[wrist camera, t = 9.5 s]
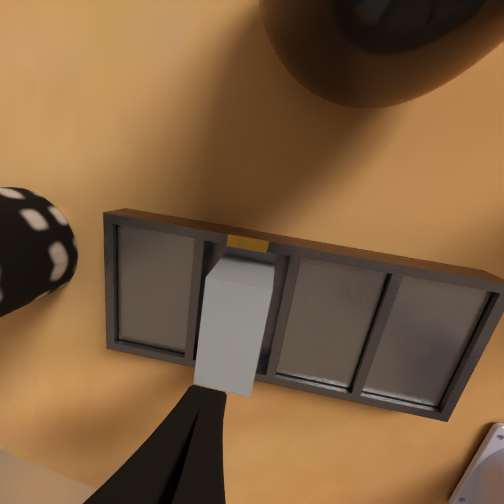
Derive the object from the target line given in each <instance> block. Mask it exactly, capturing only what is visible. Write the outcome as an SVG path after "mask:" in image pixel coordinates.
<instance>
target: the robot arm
mask: <svg viewBox="0 0 504 504" xmlns="http://www.w3.org/2000/svg"><path fill="white" fill-rule="evenodd" d="M226 398H227V395H226V393H225V392H222V391H218V390H213V389H209V388H204V387H200V386H195V385H192V386H190V387H189V388H188V390H187V391H186V393H185V394H184V395H183V397H182V398H181V399H180V401H179V402H178V403H177V405H176V406H175V407H174V408H173V410H172V411H171V412H170V413H169V415H168V416H167V417H166V418H165V419H164V421H163V422H162V423H161V424H160V425H159V426H158V427H157V429H156V430H155V431H154V432H153V433H152V434H151V436H150V437H149V438H148V439H147V440H146V441H145V442H144V443H143V444H142V445H141V447H140V448H139V449H138V450H137V451H136V452H135V453H134V454H133V455H132V456H131V457H130V458H129V459H128V460H127V461H126V462H125V463H124V464H123V465H122V466H121V467H120V469H118V470H117V471H116V472H115V473H114V474H113V475H112V476H111V477H110V478H109V479H108V480H107V481H106V482H105V483H104V484H103V485H102V486H101V487H100V488H99V489H98V490H97V491H96V492H95V493H94V494H93V495H92V496H91V497H89V498H88V499H87V500H86V501H85V502H84V503H83V504H226V502H225V490H224V475H223V418H224V411H225V405H226ZM448 503H449V504H504V423H495V424H493V426H492V427H491V429H490V430H489V432H488V434H487V435H486V437H485V439H484V441H483V442H482V444H481V446H480V447H479V449H478V451H477V453H476V454H475V456H474V458H473V459H472V461H471V463H470V465H469V466H468V468H467V470H466V471H465V473H464V475H463V477H462V478H461V480H460V482H459V483H458V485H457V487H456V489H455V490H454V492H453V494H452V495H451V497H450V499H449V501H448Z"/></svg>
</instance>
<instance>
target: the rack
mask: <svg viewBox="0 0 504 504" xmlns="http://www.w3.org/2000/svg"><path fill="white" fill-rule="evenodd" d="M103 222H104V261H105V301H106V340H107V348H108V349H112V350H117V351H122V352H126V353H131V354H135V355H140V356H145V357H149V358H154V359H159V360H163V361H168V362H172V363H177V364H182V365H186V366H191V367H195V365H196V357H197V348H198V340H199V331H200V323H201V314H202V306H203V298H204V289H205V281H206V277H207V275H208V274H209V273H210V271H211V270H212V269H213V268H214V266H215V265H216V264H217V263H218V261H219V260H220V259H221V257H222V256H223V255H226V256H231V257H236V258H241V259H246V260H251V261H257V262H262V263H267V264H272V265H275V269H274V280H273V291H272V296H271V301H270V306H269V310H268V315H267V320H266V325H265V330H264V334H263V339H262V344H261V349H260V354H259V358H258V363H257V368H256V373H255V378H254V380H256V381H260V382H265V383H269V384H274V385H279V386H283V387H288V388H293V389H297V390H302V391H306V392H311V393H316V394H320V395H325V396H330V397H334V398H339V399H343V400H348V401H353V402H357V403H362V404H367V405H371V406H376V407H380V408H385V409H390V410H394V411H399V412H403V413H408V414H413V415H417V416H422V417H427V418H431V419H436V420H440V421H445V422H448V420H449V418H450V416H451V414H452V412H453V410H454V408H455V406H456V404H457V402H458V400H459V398H460V396H461V394H462V392H463V390H464V388H465V387H466V385H467V383H468V381H469V379H470V377H471V375H472V373H473V371H474V369H475V367H476V365H477V363H478V361H479V359H480V357H481V355H482V353H483V351H484V349H485V347H486V345H487V343H488V341H489V339H490V337H491V335H492V333H493V332H494V330H495V328H496V326H497V324H498V322H499V320H500V318H501V316H502V314H503V312H504V279H501V278H499V277H497V276H495V275H493V274H490V273H488V272H486V271H483V270H477V269H471V268H465V267H460V266H454V265H448V264H442V263H437V262H431V261H425V260H419V259H414V258H408V257H402V256H396V255H391V254H385V253H379V252H373V251H368V250H362V249H356V248H350V247H345V246H339V245H333V244H327V243H322V242H316V241H310V240H304V239H299V238H293V237H287V236H282V235H276V234H270V233H264V232H259V231H253V230H247V229H241V228H236V227H230V226H224V225H218V224H213V223H207V222H201V221H195V220H190V219H184V218H178V217H172V216H167V215H161V214H155V213H149V212H144V211H138V210H132V209H126V208H125V209H120V210H114V211H109V212H103Z"/></svg>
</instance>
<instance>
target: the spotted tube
mask: <svg viewBox="0 0 504 504" xmlns="http://www.w3.org/2000/svg"><path fill="white" fill-rule="evenodd" d="M77 257H78V255H77V245H76V242H75V238H74V235H73V232H72V230H71V228H70V226H69V224H68V223H67V221H66V220H65V218H64V217H63V215H62V214H61V213H60V212H59V211H58V209H57V208H56V207H55V206H54V205H53V204H51V203H50V202H49V201H48V200H46V199H45V198H44V197H42V196H40V195H38V194H36V193H35V192H32V191H29V190H26V189H23V188H15V187H4V188H0V317H2V316H4V315H6V314H8V313H10V312H12V311H14V310H17V309H19V308H21V307H23V306H25V305H27V304H29V303H31V302H33V301H35V300H37V299H39V298H41V297H43V296H45V295H47V294H49V293H51V292H53V291H56V290H57V289H59V288H61V287H63V286H64V285H65V284H66V283H68V282H69V280H70V279H71V277H72V276H73V274H74V272H75V269H76V266H77Z"/></svg>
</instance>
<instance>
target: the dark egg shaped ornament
mask: <svg viewBox="0 0 504 504" xmlns="http://www.w3.org/2000/svg"><path fill="white" fill-rule="evenodd" d="M259 5H260V10H261V15H262V19H263V22H264V26H265V29H266V32H267V34H268V37H269V39H270V42H271V44H272V46H273V48H274V50H275V52H276V54H277V55H278V57H279V59H280V60H281V62H282V63H283V65H284V66H285V67H286V69H287V70H288V71H289V72H290V73H291V75H292V76H293V77H294V78H295V79H296V80H297V81H298V82H299V83H300V84H302V85H303V86H304V87H305V88H307V89H308V90H309V91H311V92H312V93H314V94H316V95H317V96H319V97H321V98H323V99H325V100H328V101H330V102H333V103H336V104H339V105H343V106H347V107H353V108H382V107H389V106H394V105H398V104H402V103H405V102H408V101H411V100H414V99H416V98H419V97H421V96H423V95H425V94H427V93H429V92H431V91H433V90H435V89H437V88H439V87H441V86H442V85H444V84H446V83H447V82H449V81H451V80H452V79H454V78H456V77H457V76H459V75H460V74H462V73H463V72H465V71H466V70H468V69H469V68H470V67H472V66H473V65H474V64H476V63H477V62H479V61H480V60H481V59H482V58H484V57H485V56H486V55H488V54H489V53H490V52H491V51H493V50H494V49H495V48H496V47H498V46H499V45H500V44H501V43H503V42H504V0H259Z"/></svg>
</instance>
